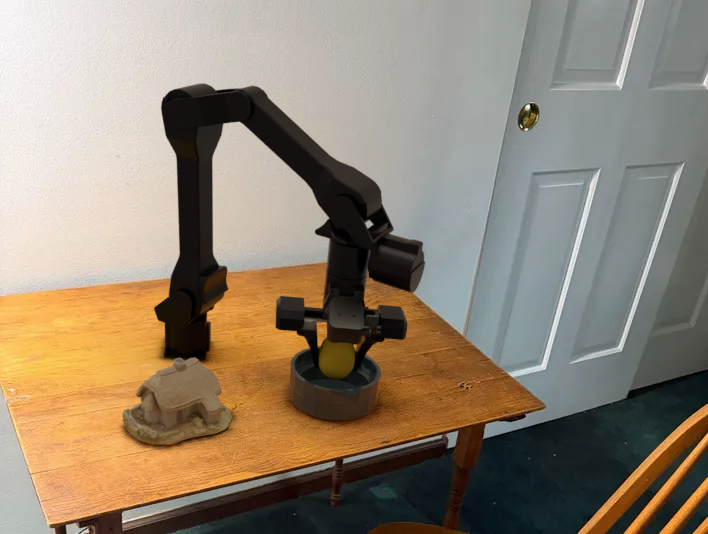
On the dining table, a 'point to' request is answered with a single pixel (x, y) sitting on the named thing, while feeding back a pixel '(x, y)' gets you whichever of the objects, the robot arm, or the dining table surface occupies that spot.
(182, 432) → the ceramic model
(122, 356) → the dining table surface
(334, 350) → the lemon
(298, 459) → the dining table surface
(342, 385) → the grey pet bowl
